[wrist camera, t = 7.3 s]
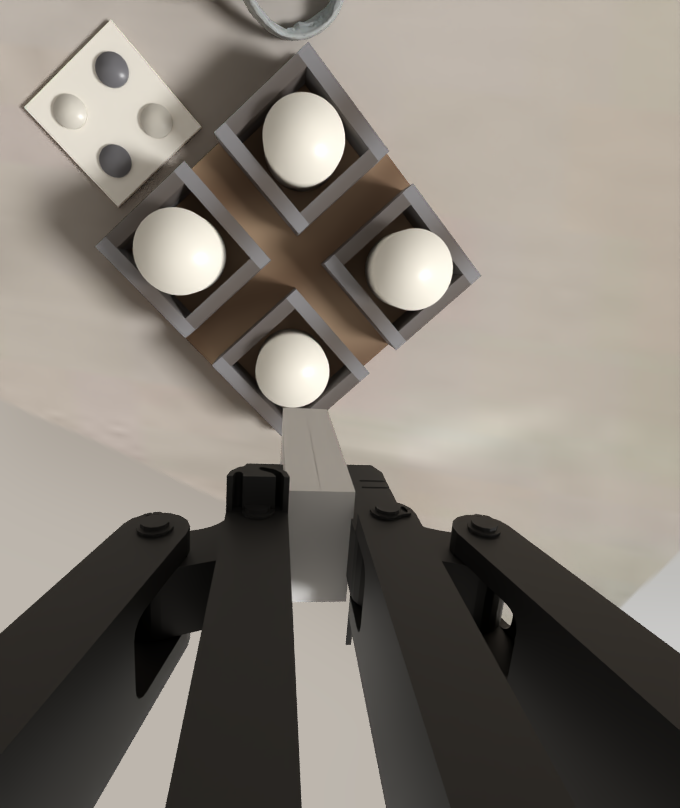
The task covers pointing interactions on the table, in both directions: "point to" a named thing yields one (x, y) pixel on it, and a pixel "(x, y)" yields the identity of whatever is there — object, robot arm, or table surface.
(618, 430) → the table surface
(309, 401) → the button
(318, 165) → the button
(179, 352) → the table surface
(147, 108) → the card
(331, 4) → the ceramic mug
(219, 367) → the button board
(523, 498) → the table surface
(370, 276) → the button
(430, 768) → the robot arm
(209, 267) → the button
